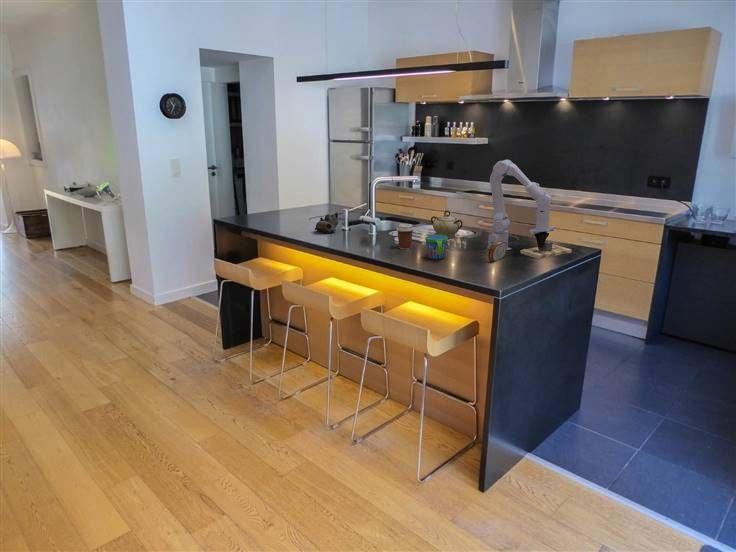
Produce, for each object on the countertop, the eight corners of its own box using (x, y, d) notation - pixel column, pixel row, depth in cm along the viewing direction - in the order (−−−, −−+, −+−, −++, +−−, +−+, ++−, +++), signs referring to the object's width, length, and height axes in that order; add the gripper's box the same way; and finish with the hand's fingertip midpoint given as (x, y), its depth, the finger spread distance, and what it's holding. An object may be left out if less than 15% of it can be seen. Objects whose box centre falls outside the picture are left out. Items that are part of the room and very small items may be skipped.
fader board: (538, 258, 240) (538, 255, 239) (520, 253, 250) (520, 249, 249) (571, 252, 249) (571, 249, 249) (552, 247, 259) (553, 244, 259)
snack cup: (423, 253, 252) (423, 233, 249) (444, 253, 252) (445, 233, 249) (426, 262, 237) (427, 241, 234) (449, 262, 237) (450, 240, 234)
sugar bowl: (467, 236, 286) (469, 209, 282) (455, 241, 275) (456, 214, 270) (437, 232, 298) (437, 206, 293) (424, 237, 286) (424, 210, 282)
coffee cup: (415, 246, 267) (415, 223, 263) (412, 250, 258) (412, 227, 255) (398, 245, 269) (398, 223, 265) (394, 249, 261) (394, 226, 257)
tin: (501, 255, 246) (502, 238, 244) (507, 256, 244) (508, 239, 242) (486, 262, 235) (487, 244, 233) (493, 263, 233) (494, 245, 231)
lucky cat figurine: (314, 230, 309) (322, 208, 309) (332, 237, 310) (340, 216, 311) (314, 228, 294) (323, 205, 294) (334, 235, 295) (342, 213, 296)
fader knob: (545, 251, 245) (546, 243, 244) (538, 249, 250) (538, 240, 249) (552, 250, 247) (552, 242, 246) (544, 248, 252) (544, 239, 250)
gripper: (537, 222, 236) (535, 250, 240) (560, 219, 242) (557, 246, 246) (526, 220, 242) (524, 247, 246) (549, 216, 248) (546, 243, 252)
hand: (540, 247), depth 247 cm, fingers closed
